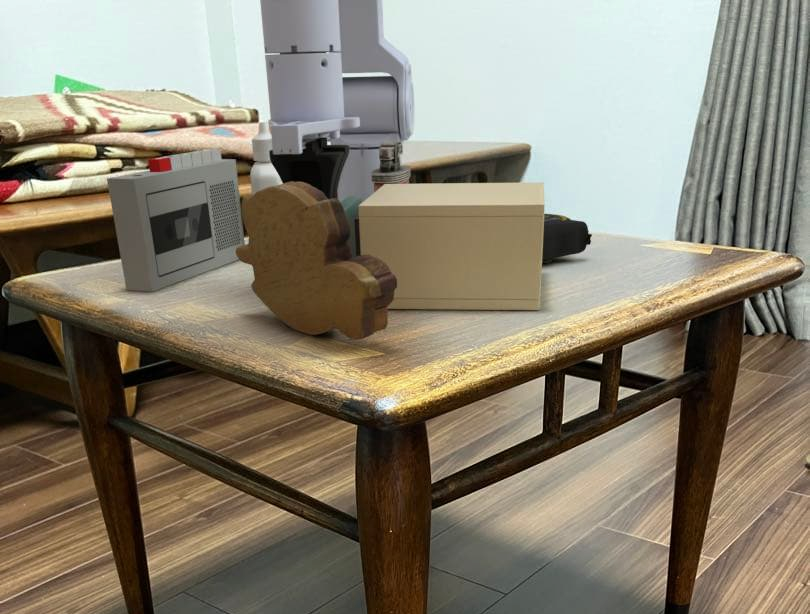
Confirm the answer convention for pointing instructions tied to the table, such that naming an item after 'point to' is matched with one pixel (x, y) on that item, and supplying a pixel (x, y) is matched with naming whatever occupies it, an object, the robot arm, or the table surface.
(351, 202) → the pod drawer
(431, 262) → the lidded cardboard box
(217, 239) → the cassette player
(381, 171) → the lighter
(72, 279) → the table surface
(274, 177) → the eye dropper bottle
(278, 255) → the wooden carving
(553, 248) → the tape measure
